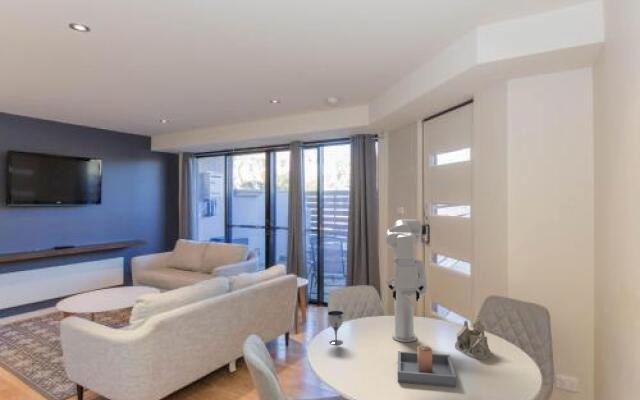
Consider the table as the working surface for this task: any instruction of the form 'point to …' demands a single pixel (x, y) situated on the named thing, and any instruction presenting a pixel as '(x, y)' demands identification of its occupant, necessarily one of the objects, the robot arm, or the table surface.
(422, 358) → the cup
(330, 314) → the wine glass
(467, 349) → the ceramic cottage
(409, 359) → the tray
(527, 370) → the table surface
